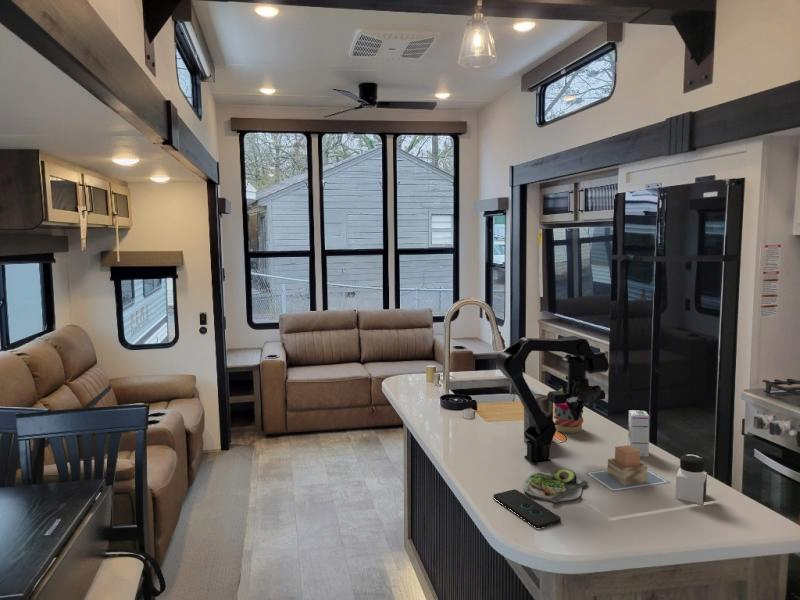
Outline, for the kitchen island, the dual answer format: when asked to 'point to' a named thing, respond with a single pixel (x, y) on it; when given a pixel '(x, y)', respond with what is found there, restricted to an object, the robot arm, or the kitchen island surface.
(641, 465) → the oak foundation
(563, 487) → the salad plate
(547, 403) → the coffee box
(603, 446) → the kitchen island surface
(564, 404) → the cake
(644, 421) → the syrup box
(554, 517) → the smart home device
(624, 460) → the terracotta block
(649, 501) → the kitchen island surface
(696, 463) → the medicine bottle
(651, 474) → the board
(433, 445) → the kitchen island surface
